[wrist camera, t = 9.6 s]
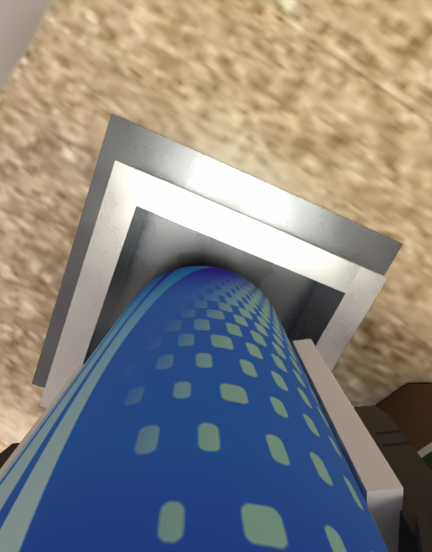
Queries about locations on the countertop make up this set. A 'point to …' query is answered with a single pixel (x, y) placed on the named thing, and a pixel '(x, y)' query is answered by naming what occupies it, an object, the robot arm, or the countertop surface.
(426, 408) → the beer bottle
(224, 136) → the countertop surface
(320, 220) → the silver square tray
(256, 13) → the countertop surface
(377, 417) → the robot arm
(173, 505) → the beer can
